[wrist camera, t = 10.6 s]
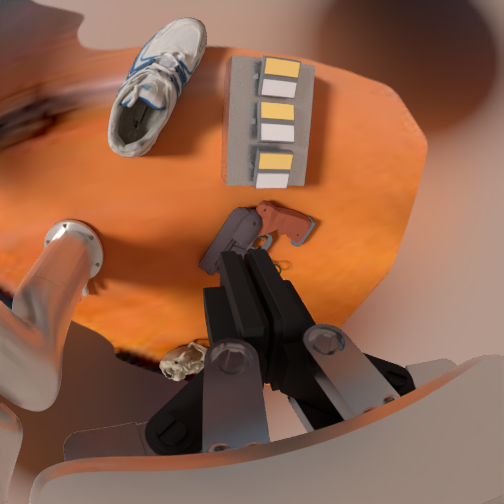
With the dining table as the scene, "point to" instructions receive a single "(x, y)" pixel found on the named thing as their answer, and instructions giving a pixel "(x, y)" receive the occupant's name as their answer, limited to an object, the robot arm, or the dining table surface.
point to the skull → (183, 361)
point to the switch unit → (245, 121)
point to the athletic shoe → (155, 86)
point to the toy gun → (255, 231)
